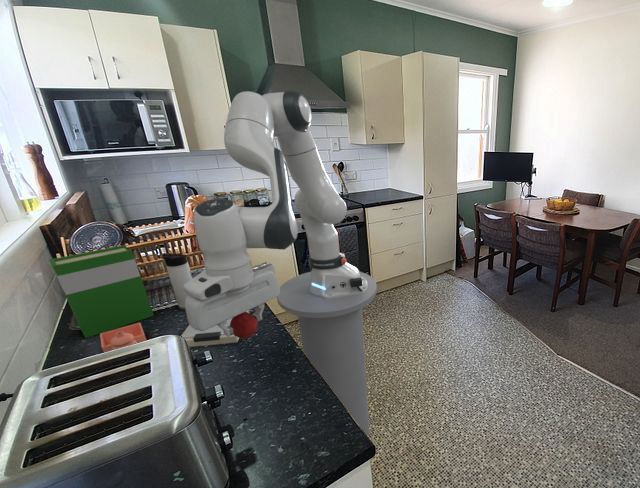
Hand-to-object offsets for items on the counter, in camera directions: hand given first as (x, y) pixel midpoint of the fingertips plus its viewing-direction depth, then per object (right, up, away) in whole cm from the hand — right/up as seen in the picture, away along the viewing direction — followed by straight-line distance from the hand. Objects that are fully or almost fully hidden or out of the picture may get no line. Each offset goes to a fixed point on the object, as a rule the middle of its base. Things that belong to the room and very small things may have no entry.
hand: (244, 327), depth 82 cm
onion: (0, -3, +1) cm, 3 cm away
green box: (-59, -4, +33) cm, 67 cm away
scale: (-24, -6, +29) cm, 39 cm away
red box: (-43, -10, +18) cm, 48 cm away
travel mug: (-43, +1, +43) cm, 61 cm away
